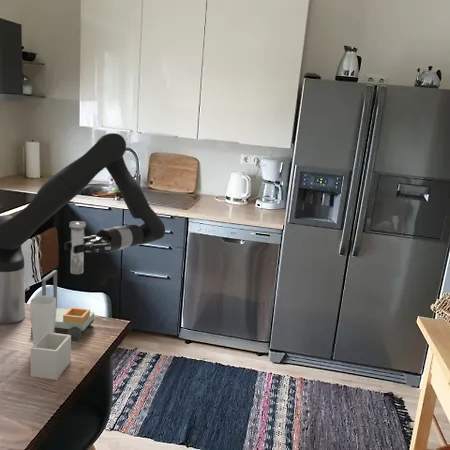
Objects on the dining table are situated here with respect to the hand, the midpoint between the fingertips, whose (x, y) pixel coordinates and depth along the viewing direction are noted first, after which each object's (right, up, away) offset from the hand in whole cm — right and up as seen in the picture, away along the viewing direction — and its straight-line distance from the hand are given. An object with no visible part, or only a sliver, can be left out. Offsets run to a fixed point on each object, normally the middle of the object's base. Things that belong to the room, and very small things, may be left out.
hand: (69, 248), depth 134 cm
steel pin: (+1, -7, +4) cm, 8 cm away
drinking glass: (-7, -29, -2) cm, 30 cm away
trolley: (-4, -26, +10) cm, 28 cm away
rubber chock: (-11, -27, +5) cm, 29 cm away
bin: (-1, -32, -11) cm, 33 cm away
